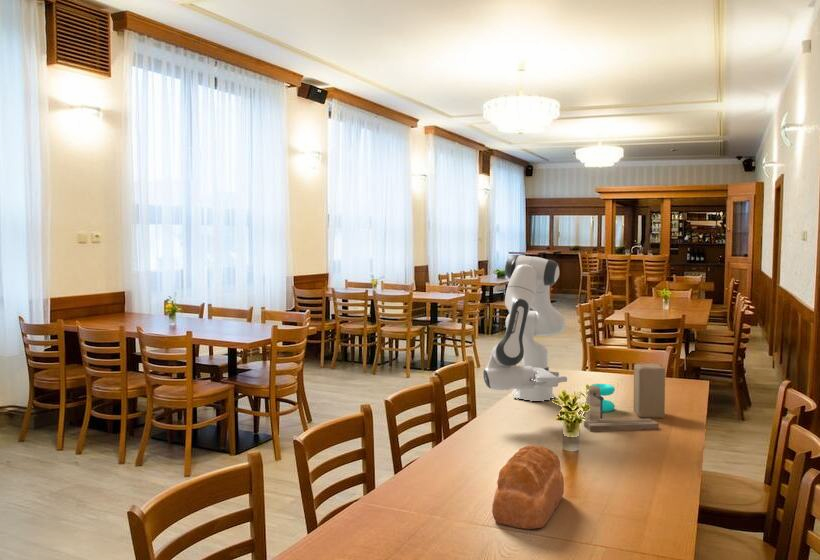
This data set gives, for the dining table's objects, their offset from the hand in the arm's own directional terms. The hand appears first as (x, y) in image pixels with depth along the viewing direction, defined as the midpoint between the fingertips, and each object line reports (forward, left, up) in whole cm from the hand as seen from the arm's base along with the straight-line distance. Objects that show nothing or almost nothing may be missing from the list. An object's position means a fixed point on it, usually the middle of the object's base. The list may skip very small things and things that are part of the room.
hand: (562, 376), depth 255 cm
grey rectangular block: (-8, +38, -19) cm, 43 cm away
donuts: (-19, +23, -19) cm, 35 cm away
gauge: (+3, +12, -18) cm, 22 cm away
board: (+7, +20, -18) cm, 28 cm away
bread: (+77, -34, -19) cm, 86 cm away
